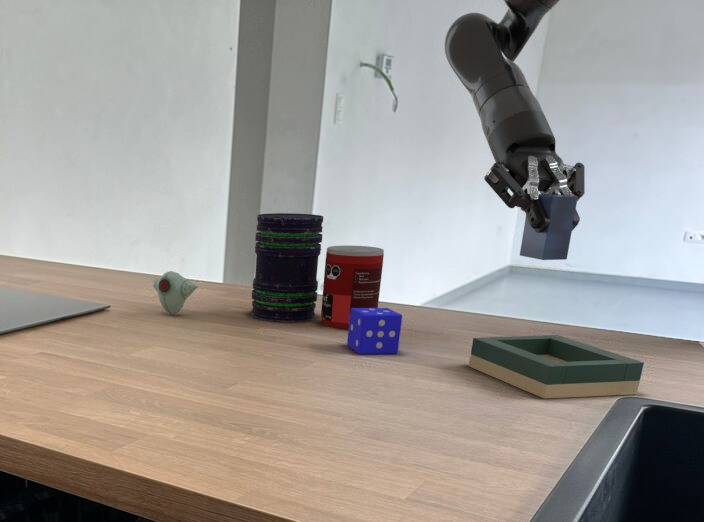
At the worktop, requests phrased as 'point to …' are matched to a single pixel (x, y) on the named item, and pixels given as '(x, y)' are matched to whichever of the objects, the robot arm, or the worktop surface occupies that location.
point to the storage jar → (286, 266)
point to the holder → (555, 366)
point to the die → (374, 330)
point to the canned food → (350, 282)
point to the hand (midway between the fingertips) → (558, 227)
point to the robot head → (173, 291)
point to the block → (551, 229)
